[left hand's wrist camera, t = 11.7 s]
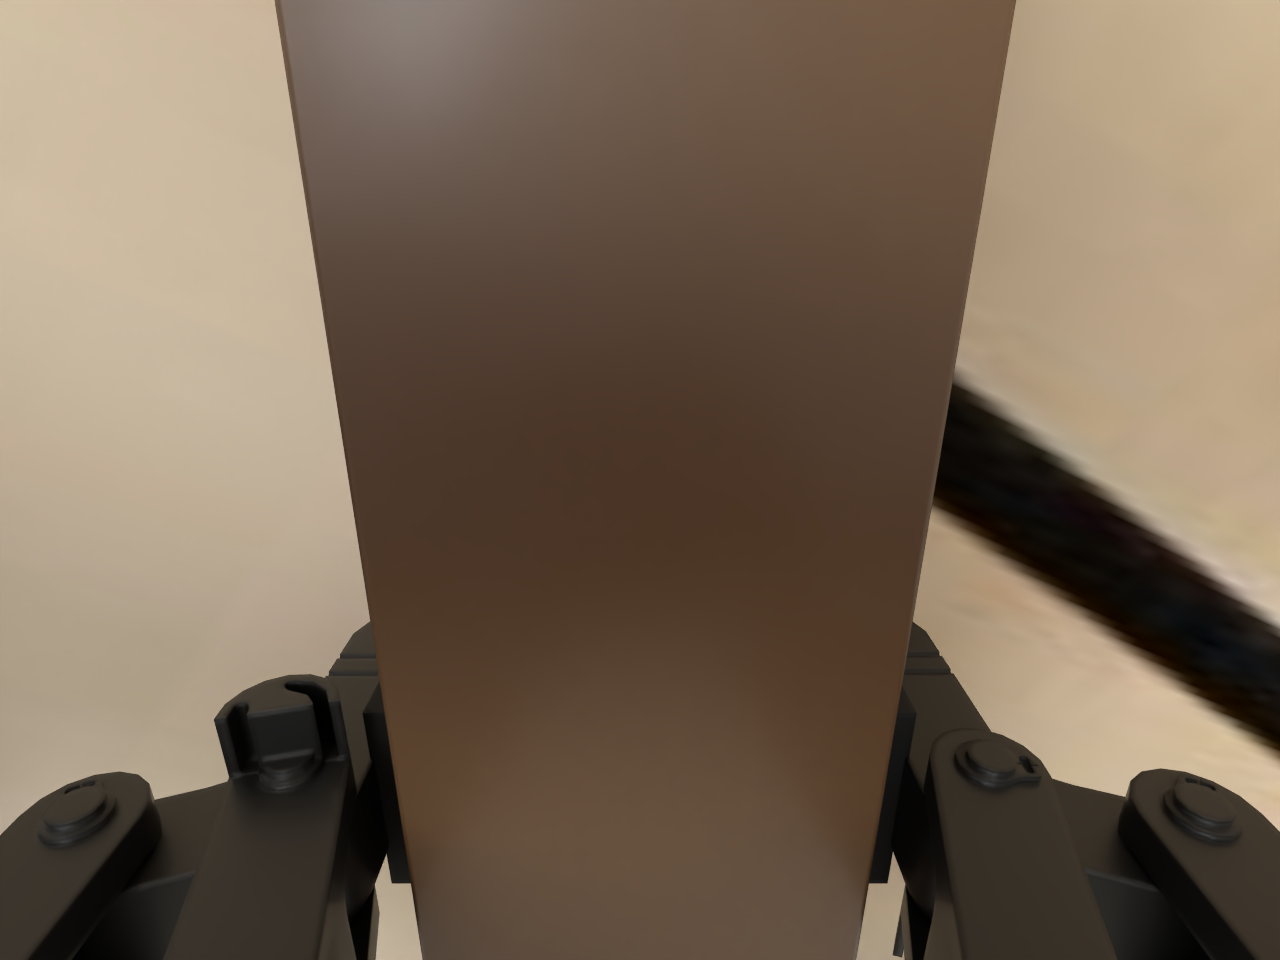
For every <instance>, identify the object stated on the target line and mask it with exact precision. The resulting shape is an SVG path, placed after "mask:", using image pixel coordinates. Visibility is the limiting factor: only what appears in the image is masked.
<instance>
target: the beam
mask: <svg viewBox="0 0 1280 960" xmlns="http://www.w3.org/2000/svg"><path fill="white" fill-rule="evenodd" d="M1015 3H1016V0H275V5H276V12H277V18H278V25H279V31H280V38H281V44H282V51H283V57H284V64H285V70H286V76H287V83H288V89H289V96H290V102H291V109H292V115H293V122H294V128H295V135H296V141H297V148H298V154H299V161H300V167H301V174H302V180H303V187H304V193H305V200H306V206H307V213H308V219H309V226H310V232H311V239H312V245H313V251H314V258H315V264H316V271H317V277H318V284H319V290H320V297H321V303H322V310H323V316H324V323H325V329H326V336H327V342H328V349H329V355H330V362H331V368H332V375H333V381H334V388H335V394H336V401H337V407H338V414H339V420H340V427H341V433H342V439H343V446H344V452H345V459H346V465H347V472H348V478H349V485H350V491H351V498H352V504H353V511H354V517H355V524H356V530H357V537H358V543H359V550H360V556H361V563H362V569H363V576H364V582H365V589H366V595H367V602H368V608H369V615H370V621H371V627H372V634H373V640H374V647H375V653H376V660H377V666H378V673H379V679H380V686H381V692H382V699H383V705H384V712H385V718H386V725H387V731H388V738H389V744H390V751H391V757H392V764H393V770H394V777H395V783H396V790H397V796H398V803H399V809H400V815H401V822H402V828H403V835H404V841H405V848H406V854H407V861H408V867H409V874H410V880H411V887H412V893H413V900H414V906H415V913H416V919H417V926H418V932H419V939H420V945H421V952H422V958H423V960H856V957H857V951H858V945H859V939H860V933H861V927H862V921H863V915H864V909H865V903H866V897H867V891H868V885H869V879H870V873H871V867H872V861H873V855H874V849H875V843H876V837H877V831H878V825H879V819H880V813H881V807H882V801H883V795H884V789H885V783H886V777H887V771H888V765H889V759H890V753H891V747H892V741H893V735H894V729H895V723H896V717H897V711H898V705H899V699H900V693H901V687H902V681H903V675H904V669H905V663H906V657H907V651H908V645H909V639H910V633H911V627H912V621H913V615H914V609H915V603H916V597H917V591H918V585H919V579H920V573H921V567H922V561H923V555H924V549H925V543H926V537H927V531H928V525H929V519H930V513H931V507H932V501H933V495H934V489H935V483H936V477H937V471H938V465H939V459H940V453H941V447H942V441H943V435H944V429H945V423H946V417H947V411H948V405H949V399H950V393H951V387H952V381H953V375H954V369H955V363H956V357H957V351H958V345H959V339H960V333H961V327H962V321H963V315H964V309H965V303H966V297H967V291H968V285H969V279H970V273H971V267H972V261H973V255H974V249H975V243H976V237H977V231H978V225H979V219H980V213H981V207H982V201H983V195H984V189H985V183H986V177H987V171H988V165H989V159H990V153H991V147H992V141H993V135H994V129H995V123H996V117H997V111H998V105H999V99H1000V93H1001V87H1002V81H1003V75H1004V69H1005V63H1006V57H1007V51H1008V45H1009V39H1010V33H1011V27H1012V21H1013V15H1014V9H1015Z"/></svg>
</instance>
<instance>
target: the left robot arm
mask: <svg viewBox="0 0 1280 960" xmlns="http://www.w3.org/2000/svg"><path fill="white" fill-rule="evenodd" d="M214 722H215V725H216V729H217V733H218V737H219V740H220V744H221V748H222V752H223V755H224V759H225V763H226V767H227V770H228V774H229V779H228V782H225V783H221V784H218V785H215V786H212V787H208V788H204V789H200V790H196V791H191V792H187V793H183V794H178V795H174V796H170V797H165V798H161V799H157V800H154V797H153V794H152V791H151V788H150V785H149V783H148V782H146V781H145V780H144V779H143V778H142V777H141V776H139V775H137V774H131V773H125V772H113V773H106V774H99V775H93V776H90V777H88V778H85V779H82V780H79V781H76V782H73V783H70V784H67V785H65V786H64V787H62V788H60V789H58V790H56V791H54V792H53V793H51V794H49V795H47V796H45V797H43V798H42V799H40V800H39V801H38V802H36V803H35V804H34V805H33V806H31V807H30V808H29V809H28V810H26V811H25V812H24V813H23V814H22V815H20V816H19V817H18V818H17V819H16V820H15V821H14V822H13V823H12V824H11V825H10V826H9V827H8V828H7V829H6V830H5V831H4V832H3V833H2V834H1V835H0V960H375V959H376V947H377V936H378V924H379V907H378V901H377V895H376V889H375V882H376V880H377V877H378V874H379V872H380V869H381V866H382V864H383V861H384V859H385V856H386V853H387V858H388V864H389V870H390V876H391V881H392V883H411V880H410V874H409V867H408V861H407V854H406V848H405V841H404V835H403V828H402V822H401V815H400V809H399V803H398V796H397V790H396V783H395V777H394V770H393V764H392V757H391V751H390V744H389V738H388V731H387V725H386V718H385V712H384V705H383V699H382V692H381V686H380V679H379V673H378V666H377V660H376V653H375V647H374V640H373V634H372V627H371V621H370V622H369V623H367V624H366V625H365V626H363V627H362V628H361V629H359V630H358V631H357V632H355V633H354V634H353V635H352V637H351V638H350V640H349V642H348V643H347V645H346V646H345V648H344V649H343V651H342V652H341V654H340V659H337V660H336V662H335V663H334V665H333V666H332V668H331V669H330V671H329V676H326V677H325V678H323V677H319V676H315V675H311V674H308V675H287V676H283V677H279V678H275V679H271V680H267V681H264V682H262V683H260V684H257V685H255V686H253V687H251V688H249V689H246V690H244V691H242V692H241V693H240V694H238V695H237V696H236V697H234V698H233V699H232V700H230V701H229V702H228V703H226V704H225V705H224V706H223V708H222V709H221V711H220V712H219V713H218V715H217V716H216V717H215V719H214ZM893 852H894V855H895V857H896V860H897V863H898V865H899V868H900V870H901V873H902V876H903V878H904V881H905V883H906V884H905V889H904V895H903V900H902V906H901V911H900V916H899V922H898V927H897V933H896V938H895V944H894V950H893V955H894V956H898V957H902V955H903V950H904V957H905V960H1280V832H1279V831H1278V830H1277V829H1276V828H1275V827H1274V826H1273V825H1272V824H1271V823H1270V822H1269V821H1268V820H1267V819H1266V818H1265V817H1264V816H1263V814H1261V813H1260V812H1259V811H1258V810H1256V809H1255V808H1254V807H1253V806H1252V805H1250V804H1249V803H1248V802H1247V801H1245V800H1244V799H1243V798H1242V797H1240V796H1239V795H1237V794H1235V793H1233V792H1232V791H1230V790H1228V789H1226V788H1224V787H1222V786H1220V785H1219V784H1217V783H1215V782H1213V781H1210V780H1207V779H1205V778H1202V777H1199V776H1196V775H1193V774H1190V773H1187V772H1182V771H1175V770H1168V769H1155V770H1148V771H1142V772H1141V773H1139V774H1138V775H1137V776H1136V777H1135V778H1133V779H1132V780H1131V781H1130V784H1129V788H1128V791H1127V794H1126V797H1123V796H1118V795H1114V794H1110V793H1105V792H1101V791H1097V790H1092V789H1088V788H1084V787H1079V786H1075V785H1071V784H1068V783H1064V782H1061V781H1058V780H1055V779H1052V778H1051V776H1050V774H1049V773H1048V771H1047V770H1046V768H1045V766H1044V765H1043V763H1042V762H1041V760H1040V759H1039V758H1037V757H1036V756H1035V755H1034V754H1033V753H1031V752H1030V751H1029V750H1028V749H1027V748H1025V747H1024V746H1023V745H1021V744H1019V743H1017V742H1015V741H1013V740H1011V739H1009V738H1007V737H1005V736H1003V735H1000V734H997V733H993V732H991V731H990V729H989V728H988V726H987V724H986V723H985V721H984V720H983V718H982V717H981V715H980V714H979V712H978V711H977V709H976V708H975V706H974V705H973V703H972V701H971V700H970V698H969V697H968V695H967V694H966V692H965V691H964V689H963V688H962V686H961V685H960V683H959V682H958V680H957V678H956V677H955V675H954V674H951V672H950V668H949V666H948V665H947V663H946V662H945V660H944V658H943V657H942V656H940V655H939V651H938V649H937V648H936V646H935V645H934V643H933V642H932V640H931V639H930V637H929V635H928V634H927V632H926V631H925V630H923V629H922V628H921V627H919V626H918V625H916V624H915V623H914V622H912V627H911V633H910V639H909V645H908V651H907V657H906V663H905V669H904V675H903V681H902V687H901V693H900V699H899V705H898V711H897V717H896V723H895V729H894V735H893V741H892V747H891V753H890V759H889V765H888V771H887V777H886V783H885V789H884V795H883V801H882V807H881V813H880V819H879V825H878V831H877V837H876V843H875V849H874V855H873V861H872V867H871V873H870V879H869V883H887V882H888V877H889V871H890V865H891V859H892V854H893Z"/></svg>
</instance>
